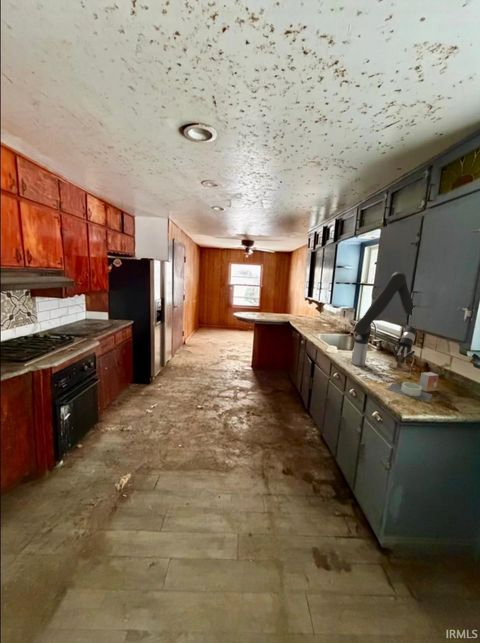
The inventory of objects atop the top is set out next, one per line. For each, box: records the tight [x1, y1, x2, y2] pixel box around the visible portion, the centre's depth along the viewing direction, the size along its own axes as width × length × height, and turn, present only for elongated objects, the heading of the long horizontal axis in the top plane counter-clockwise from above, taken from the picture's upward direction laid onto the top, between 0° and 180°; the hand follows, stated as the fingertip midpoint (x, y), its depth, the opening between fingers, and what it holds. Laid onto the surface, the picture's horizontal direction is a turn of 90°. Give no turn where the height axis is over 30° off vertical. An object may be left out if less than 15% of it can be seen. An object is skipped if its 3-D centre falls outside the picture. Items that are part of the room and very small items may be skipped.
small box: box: [418, 371, 440, 392], centre depth 179 cm, size 8×6×10 cm
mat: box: [386, 383, 433, 403], centre depth 174 cm, size 22×14×1 cm, turn 48°
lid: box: [388, 355, 410, 373], centre depth 189 cm, size 12×12×8 cm
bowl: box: [401, 381, 423, 397], centre depth 172 cm, size 10×10×5 cm
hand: (399, 361), depth 187 cm, fingers closed on lid, 2 cm apart
